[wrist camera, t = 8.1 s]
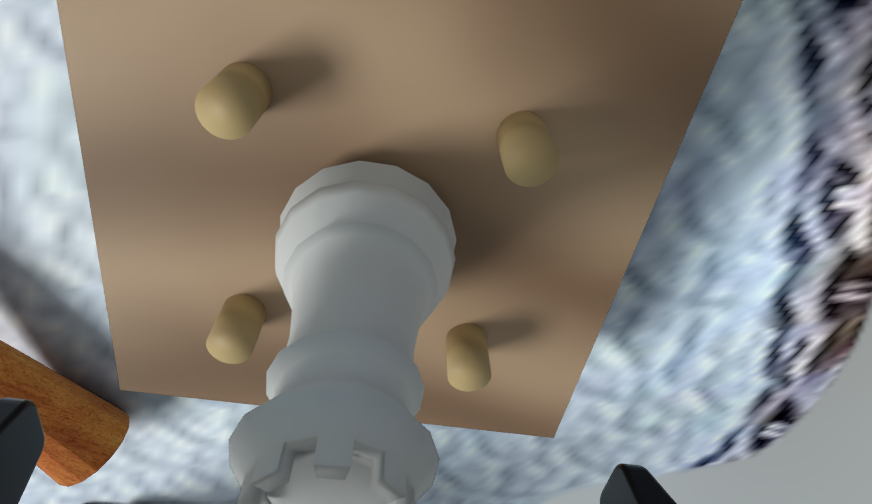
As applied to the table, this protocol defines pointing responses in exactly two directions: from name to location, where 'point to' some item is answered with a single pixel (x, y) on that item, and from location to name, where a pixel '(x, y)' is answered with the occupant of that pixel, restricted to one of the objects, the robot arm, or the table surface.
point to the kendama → (64, 417)
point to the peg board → (385, 144)
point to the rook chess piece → (349, 343)
